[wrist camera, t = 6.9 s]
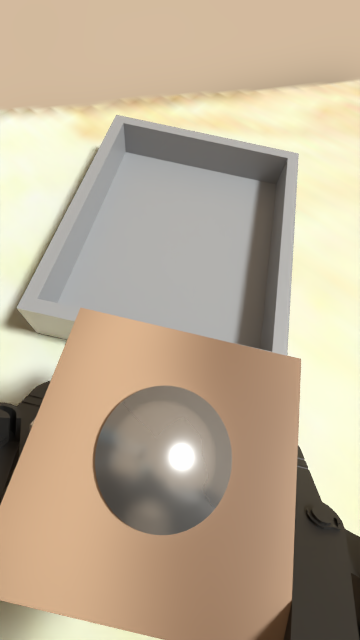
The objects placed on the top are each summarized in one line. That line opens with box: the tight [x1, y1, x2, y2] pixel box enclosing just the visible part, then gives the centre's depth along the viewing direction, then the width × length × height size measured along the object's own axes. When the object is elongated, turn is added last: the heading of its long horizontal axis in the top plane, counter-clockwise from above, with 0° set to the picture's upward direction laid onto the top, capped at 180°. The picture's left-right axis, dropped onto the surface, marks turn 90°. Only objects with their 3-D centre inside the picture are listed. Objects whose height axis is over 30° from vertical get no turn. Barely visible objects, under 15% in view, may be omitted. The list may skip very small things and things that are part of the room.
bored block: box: [0, 307, 301, 640], centre depth 12 cm, size 6×6×11 cm
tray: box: [17, 115, 299, 356], centre depth 27 cm, size 18×22×4 cm
